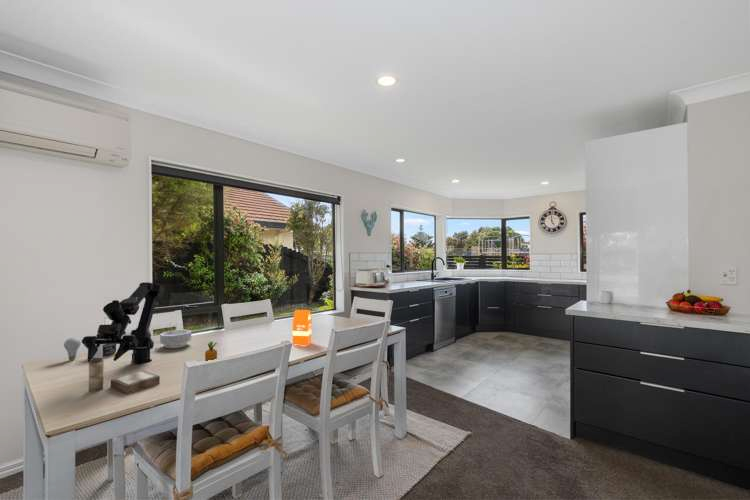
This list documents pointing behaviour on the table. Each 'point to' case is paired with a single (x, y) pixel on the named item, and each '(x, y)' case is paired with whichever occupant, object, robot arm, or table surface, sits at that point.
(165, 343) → the paper bowls
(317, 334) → the table surface
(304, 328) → the orange juice
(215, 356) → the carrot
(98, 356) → the medicine bottle
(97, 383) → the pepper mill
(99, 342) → the robot arm
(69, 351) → the lightbulb
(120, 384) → the square tray
